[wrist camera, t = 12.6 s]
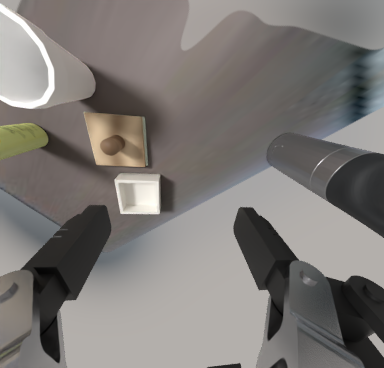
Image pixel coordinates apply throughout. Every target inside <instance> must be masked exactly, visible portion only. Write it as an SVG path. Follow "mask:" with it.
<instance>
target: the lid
mask: <svg viewBox="0 0 384 368" xmlns="http://www.w3.org/2000/svg"><path fill="white" fill-rule="evenodd" d="M84 116H85V120H86V124H87V128H88V132H89V136H90V140H91V144H92V149H93V153H94V157H95V161H96V165H109V166H132V167H145V166H146V161H145V147H144V133H143V119H142V117H137V116H125V115H113V114H101V113H89V112H84Z"/></svg>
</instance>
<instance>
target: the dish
mask: <svg viewBox="0 0 384 368" xmlns="http://www.w3.org/2000/svg"><path fill="white" fill-rule="evenodd" d="M115 186H116V191H117V196H118V201H119V207H120V212H121V214H160V209H161V179H160V174H140V173H120V174H119V175H118V176H117V177H116V178H115Z"/></svg>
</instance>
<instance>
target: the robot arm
mask: <svg viewBox="0 0 384 368" xmlns="http://www.w3.org/2000/svg"><path fill="white" fill-rule="evenodd" d="M267 160H268V162H269V164H270V165H271V166H273V167H274V168H276V169H277V170H279V171H281V172H282V173H284V174H285V175H287V176H288V177H290V178H292V179H293V180H295V181H296V182H298V183H299V184H301V185H303V186H304V187H306V188H307V189H309V190H311V191H312V192H314V193H315V194H317V195H318V196H320V197H322V198H323V199H325V200H326V201H328V202H330V203H331V204H333V205H334V206H336V207H338V208H339V209H341V210H342V211H344V212H346V213H347V214H349V215H350V216H352V217H354V218H355V219H357V220H358V221H360V222H361V223H363V224H364V225H366V226H367V227H369V228H370V229H372V230H373V231H375V232H376V233H378V234H379V235H381V236H382V237H383V238H384V154H380V153H375V152H371V151H367V150H362V149H358V148H353V147H349V146H345V145H341V144H336V143H332V142H328V141H324V140H319V139H315V138H311V137H307V136H303V135H299V134H294V133H286V134H283V135H281V136H279V137H278V138H276V139H275V140H274V141H273V142H272V144H271V145H270V147H269V149H268V152H267ZM110 233H111V223H110V219H109V215H108V211H107V207H106V206H105V205H89V206H88V207H87V208H86V209H85V210H84V211H83V212H82V213H81V214H78V215H76V216H74V217H73V218H71V219H70V220H68V221H67V222H66V223H65V224H64V225H63V226H62V227H61V228H60V230H59V231H57V232H56V233H55V234H54V235H53V238H50V240H49V241H48V242H47V243H46V244H45V245H44V246H43V247H42V248H41V249H40V250H39V251H38V252H37V253H36V254H35V255H34V256H33V257H32V258H31V259H30V260H29V261H28V262H27V263H26V265H25V266H24V267H23V268H22V269H21V270H18V271H14V272H10V273H8V274H5V275H3V276H1V277H0V368H67V366H66V361H65V351H64V341H63V332H62V322H61V313H60V310H59V309H60V308H61V306H62V304H63V302H64V301H66V300H76V299H77V297H78V295H79V293H80V291H81V289H82V287H83V285H84V284H85V282H86V280H87V278H88V276H89V274H90V272H91V270H92V268H93V266H94V264H95V262H96V261H97V259H98V257H99V255H100V253H101V251H102V249H103V247H104V245H105V244H106V242H107V240H108V238H109V236H110ZM234 235H235V237H236V239H237V241H238V244H239V246H240V248H241V250H242V253H243V255H244V257H245V260H246V262H247V264H248V266H249V269H250V271H251V273H252V275H253V278H254V280H255V282H256V284H257V287H258V289H259V290H268V291H269V293H270V296H269V299H268V306H267V314H266V322H265V330H264V338H263V344H262V347H261V350H260V353H259V356H258V360H257V365H256V368H384V357H383V356H382V355H381V353H380V352H379V351H378V350H377V348H376V347H375V346H374V345H373V343H372V342H371V341H370V340H369V338H368V336H370V335H372V334H373V333H376V334H377V336H378V337H379V338H380V339H381V340H382V341H383V343H384V289H383V288H382V287H380V286H379V285H377V284H376V283H374V282H372V281H370V280H368V279H366V278H364V277H361V276H351V277H350V278H349V279H348V280H347V281H346V282H343V281H339V280H336V279H332V278H328V277H325V276H324V275H323V274H322V273H321V272H320V271H319V270H318V269H317V268H315V267H314V266H312V265H310V264H308V263H306V262H303V261H299V259H298V258H297V257H296V256H295V255H294V253H293V252H292V251H291V250H290V248H289V247H288V246H287V244H286V243H285V242H284V241H283V239H282V238H281V237H280V236H279V235H278V233H277V232H276V230H274V228H273V227H272V225H271V224H270V223H269V222H268V221H267V220H266V219H265V218H263V217H262V216H259V215H258V214H257V213H256V211H255V210H254V209H253V208H250V207H249V208H247V207H246V208H245V207H240V208H239V209H238V213H237V216H236V220H235V223H234ZM208 368H241V364H240V363H239V364H230V365H222V366H214V367H208Z"/></svg>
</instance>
